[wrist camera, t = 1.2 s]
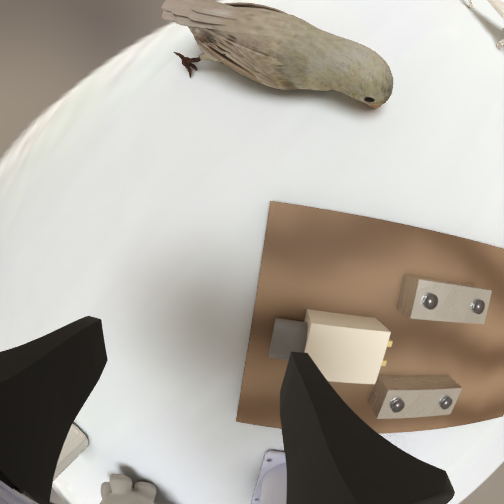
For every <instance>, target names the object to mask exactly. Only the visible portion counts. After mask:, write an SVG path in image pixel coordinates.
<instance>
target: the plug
mask: <svg viewBox="0 0 504 504" xmlns="http://www.w3.org/2000/svg"><path fill="white" fill-rule="evenodd" d="M390 333H391V332H390V331H389V330H388V329H387V328H386V327H385V326H384V325H383V324H382V323H381V322H379V321H378V320H377V319H376V318H373V317H364V316H356V315H348V314H340V313H332V312H325V311H317V310H310V309H307V311H306V316H305V321H304V322H302V321H295V320H288V319H282V318H275V323H274V328H273V334H272V339H271V345H270V351H269V358H275V359H281V360H288V361H289V357H290V354H291V352H301V353H308V354H309V356H310V357H311V358H312V360H313V361H314V363H315V364H316V366H317V367H318V368H319V370H320V371H321V373H322V374H323V375H324V377H325V378H326V379H327V381H331V382H343V383H358V384H375V383H376V380H377V377H378V374H379V371H380V368H381V366H386V363H387V360H386V359H385V358H384V355H385V351H386V348H387V347H391V346H392V342H393V341H392V340H391V339H389V337H390Z"/></svg>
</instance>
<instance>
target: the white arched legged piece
mask: <svg viewBox="0 0 504 504" xmlns="http://www.w3.org/2000/svg"><path fill="white" fill-rule="evenodd" d="M468 1H469V4H470V5H468V7H469V8H471V9H473V6H472V2H471V0H468ZM488 2H489V3H490V4H491V5H492V7H493V8H494V9H495V10H496V11H497V12H498V13H499V15H500V16H501V17H502V18H503V19H504V3H503V2H501V1H500V0H488ZM503 30H504V28H503ZM503 45H504V39H503V40H501V41H499V42H498V44H497V48H498V49H499V50H500V49H501V48H502V46H503Z"/></svg>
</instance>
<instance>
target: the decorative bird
mask: <svg viewBox="0 0 504 504" xmlns="http://www.w3.org/2000/svg"><path fill="white" fill-rule="evenodd" d="M162 9H164V11H163V13H162V18H163V19H165V20H168V21H173V22H176V23H177V24H180V25H184V26H188V28H190V30H191V32H192V34H193V35H194V38H195V40H196V41H197V44H198V45H199V47H200V49H201V50H202V51H203V52H204V54H201V55H200V56H199V57H198V58H191V59H190V58H188V57H184V56H183V55H181V54H180V53H176V52H174V53H175V54H176V55H178V56H179V57H180V58H181V59H182V64H183V65H184V66H185V67H186V68H187V70H188V72H189V75H190V77H191V67H192V68H194V69H195V70H197V68H196V66H195V65H194V64H193V63H194V62H199V61H200V60H214V61H220V62H222V63H223V64H225V65H226V66H227V67H229V68H230V69H232V70H234V71H236V72H237V73H239V74H241V75H243V76H245V77H247V78H249V79H251V80H254V81H256V82H258V83H261V84H263V85H266V86H269V87H272V88H276V89H282V90H293V89H312V90H323V91H328V90H332V89H333V90H336V91H340V92H342V93H344V94H346V95H348V96H350V97H352V98H354V99H356V100H358V101H361V102H364V103H365V104H367V105H368V106H370V107H372V108H378V107H380V106H381V105H382V104H384V103H385V102H386V101H387V100H388V99H389V97H390V96H391V94H392V89H393V77H392V74H391V71H390V68H389V66H388V65H387V63H386V62H385V60H384V59H383V58H382V57H381V56H380V55H378V54H377V53H376V52H375V51H373V50H371V49H370V48H368V47H366V46H364V45H362V44H359V43H356V42H354V41H351V40H348V39H345V38H342V37H339V36H336V35H333V34H331V33H328V32H325V31H323V30H320V29H318V28H316V27H315V26H313V25H311V24H309V23H307V22H306V21H304V20H302V19H300V18H298V17H296V16H293V15H289V14H287V13H285V12H283V11H280V10H278V9H275V8H271V7H268V6H264V5H259V4H253V3H224V4H223V3H219V2H215V1H211V0H167V1H165V2H164V4H163V5H162ZM190 66H191V67H190Z"/></svg>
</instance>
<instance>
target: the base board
mask: <svg viewBox="0 0 504 504" xmlns="http://www.w3.org/2000/svg"><path fill="white" fill-rule="evenodd" d="M404 274H405V275H412V276H418V277H424V278H431V279H437V280H444V281H450V282H456V283H463V284H469V285H475V286H478V287H482V288H485V289H488V290H492V293H491V297H490V302H489V306H488V310H487V315H486V318H485V322H484V324H473V323H458V322H445V321H433V320H422V319H411V318H409V317H408V316H406V315H405V314H403V313H402V312H400V311H399V310H397V304H398V300H399V295H400V291H401V286H402V280H403V275H404ZM307 309H310V310H317V311H325V312H332V313H340V314H348V315H356V316H364V317H373V318H376V319H377V320H378V321H379V322H381V323H382V324H383V325H384V326H385V327H386V328H387V329H388V330H389V331H390V332H391V333H390V337H389V339H391V340H392V341H393V342H392V346H391V347H387V348H386V351H385V355H384V358H385V359H386V360H387V363H386V366H381V368H380V371H379V375H449V376H450V377H451V378H452V379H453V380H454V381H456V382H457V383H458V384H459V385H460V386H461V387H462V390H461V392H460V394H459V397H458V399H457V401H456V403H455V405H454V408H453V410H452V412H451V414H448V415H439V416H429V417H415V418H394V419H377V418H376V416H375V414H374V412H373V410H372V408H371V405H370V403H369V399H370V397H371V394H372V391H373V388H374V385H375V384H358V383H343V382H331V381H328V382H329V383H330V385H331V386H332V387H333V389H334V390H335V391H336V392H337V394H338V395H339V396H340V397H341V398H342V400H343V401H344V402H345V403H346V404H347V405H348V406H349V407H350V408H351V409H352V410H353V412H354V413H356V414H357V415H358V416H359V417H360V418H361V419H362V420H363V421H364V422H365V423H366V424H367V425H368V426H370V427H371V428H372V429H373V430H374V431H376V432H377V433H397V432H412V431H423V430H432V429H440V428H447V427H454V426H460V425H466V424H471V423H476V422H481V421H485V420H490V419H494V418H498V417H502V416H503V415H504V249H502V248H499V247H495V246H491V245H488V244H484V243H480V242H476V241H473V240H469V239H465V238H461V237H457V236H453V235H448V234H444V233H440V232H436V231H431V230H427V229H422V228H418V227H413V226H409V225H404V224H399V223H394V222H390V221H385V220H380V219H375V218H369V217H364V216H359V215H353V214H348V213H342V212H337V211H331V210H325V209H319V208H313V207H307V206H301V205H294V204H288V203H281V202H274V201H270V207H269V214H268V221H267V228H266V234H265V241H264V248H263V254H262V261H261V268H260V274H259V281H258V287H257V294H256V300H255V307H254V313H253V319H252V326H251V332H250V338H249V345H248V351H247V357H246V363H245V370H244V376H243V382H242V388H241V394H240V400H239V406H238V412H237V418H236V422H242V423H247V424H253V425H260V426H266V427H274V428H281V429H282V427H281V419H280V389H281V386H282V382H283V379H284V375H285V372H286V368H287V365H288V360H281V359H275V358H269V351H270V345H271V339H272V334H273V328H274V323H275V318H282V319H288V320H295V321H302V322H304V321H305V316H306V311H307Z"/></svg>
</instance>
